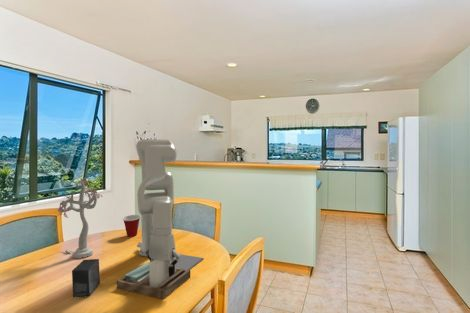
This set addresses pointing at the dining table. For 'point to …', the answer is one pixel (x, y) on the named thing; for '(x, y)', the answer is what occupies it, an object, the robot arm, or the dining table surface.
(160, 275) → the white rectangular block
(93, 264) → the small box
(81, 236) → the tree sculpture
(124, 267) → the dining table surface
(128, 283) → the walnut rack
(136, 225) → the plastic cup
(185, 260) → the rubber mat
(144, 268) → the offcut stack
